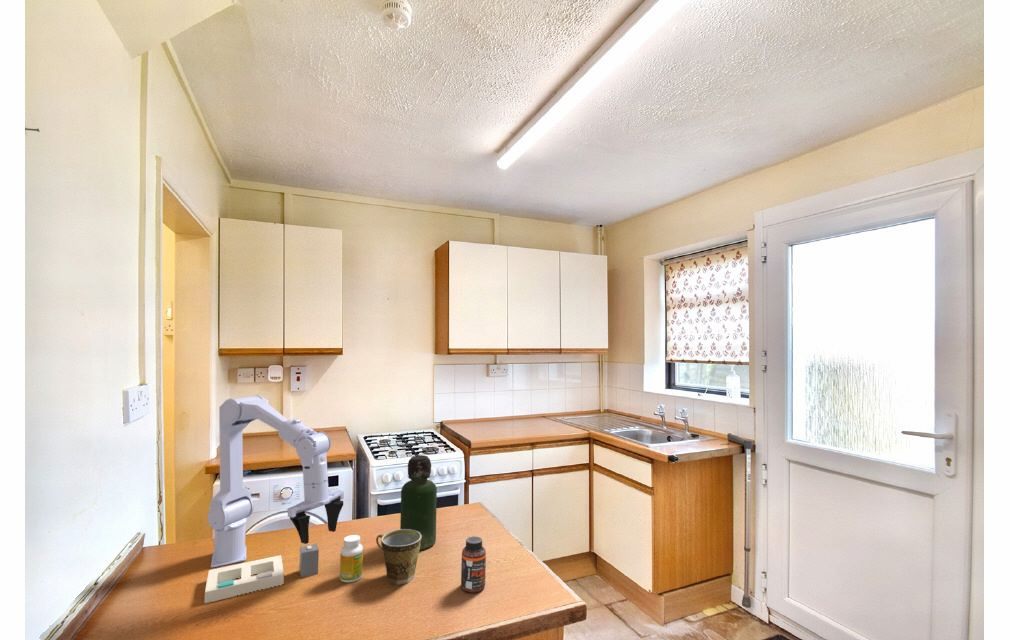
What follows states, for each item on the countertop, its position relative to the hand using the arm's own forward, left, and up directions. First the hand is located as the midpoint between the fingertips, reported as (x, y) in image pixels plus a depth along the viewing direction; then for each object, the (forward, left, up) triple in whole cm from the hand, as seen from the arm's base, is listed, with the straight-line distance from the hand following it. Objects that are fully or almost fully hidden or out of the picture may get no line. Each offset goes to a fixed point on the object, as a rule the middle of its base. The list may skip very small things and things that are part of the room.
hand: (318, 536), depth 111 cm
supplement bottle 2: (+23, +32, -10) cm, 41 cm away
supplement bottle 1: (+4, +7, -10) cm, 13 cm away
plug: (-4, -2, -10) cm, 11 cm away
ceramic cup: (+9, +17, -10) cm, 22 cm away
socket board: (-6, -16, -10) cm, 20 cm away
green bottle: (-6, +28, -10) cm, 31 cm away
